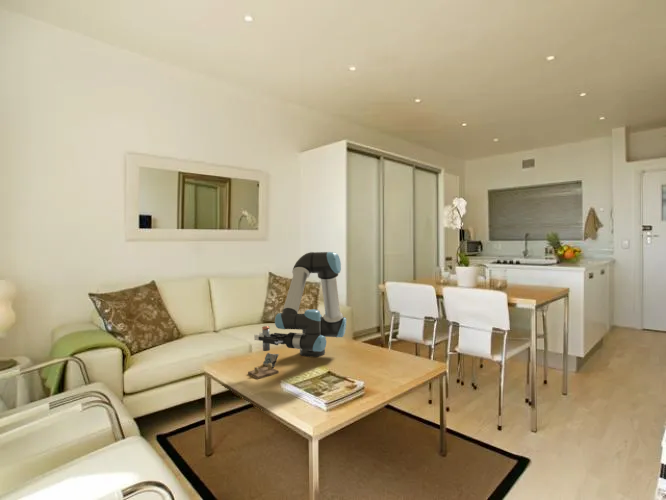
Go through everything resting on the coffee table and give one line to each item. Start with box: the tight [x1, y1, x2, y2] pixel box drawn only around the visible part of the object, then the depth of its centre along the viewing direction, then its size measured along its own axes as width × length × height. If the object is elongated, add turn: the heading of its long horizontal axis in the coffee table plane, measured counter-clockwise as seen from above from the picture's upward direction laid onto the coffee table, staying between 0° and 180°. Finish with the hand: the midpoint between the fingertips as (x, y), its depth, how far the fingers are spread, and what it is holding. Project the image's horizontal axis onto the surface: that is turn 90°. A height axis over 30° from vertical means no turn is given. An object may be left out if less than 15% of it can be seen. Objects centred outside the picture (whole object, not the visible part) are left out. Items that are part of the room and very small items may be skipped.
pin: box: [261, 325, 271, 352], centre depth 192 cm, size 4×4×12 cm
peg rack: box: [247, 363, 280, 380], centre depth 193 cm, size 12×10×4 cm
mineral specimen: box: [262, 352, 280, 368], centre depth 206 cm, size 10×8×10 cm
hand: (257, 336), depth 195 cm, fingers closed on pin, 3 cm apart
